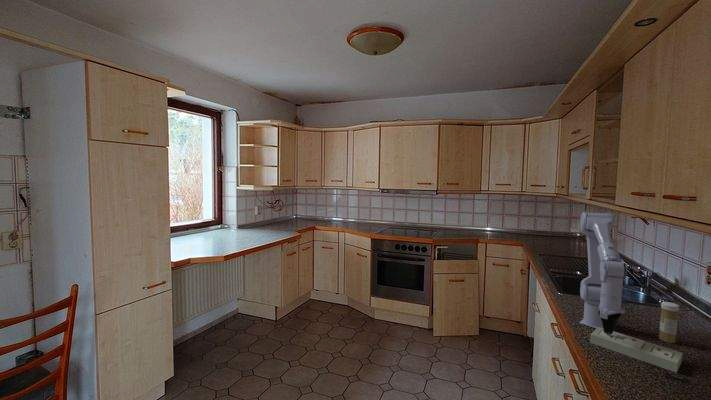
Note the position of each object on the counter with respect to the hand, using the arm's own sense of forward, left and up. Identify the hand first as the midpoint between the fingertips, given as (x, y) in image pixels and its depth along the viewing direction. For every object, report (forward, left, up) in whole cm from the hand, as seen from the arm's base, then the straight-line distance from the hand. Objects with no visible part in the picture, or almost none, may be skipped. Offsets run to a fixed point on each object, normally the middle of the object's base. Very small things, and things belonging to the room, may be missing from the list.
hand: (608, 332), depth 114 cm
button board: (0, +7, -4) cm, 8 cm away
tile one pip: (0, +7, -2) cm, 7 cm away
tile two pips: (0, +14, -3) cm, 14 cm away
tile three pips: (0, 0, -3) cm, 3 cm away
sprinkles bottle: (-19, +13, -4) cm, 23 cm away
